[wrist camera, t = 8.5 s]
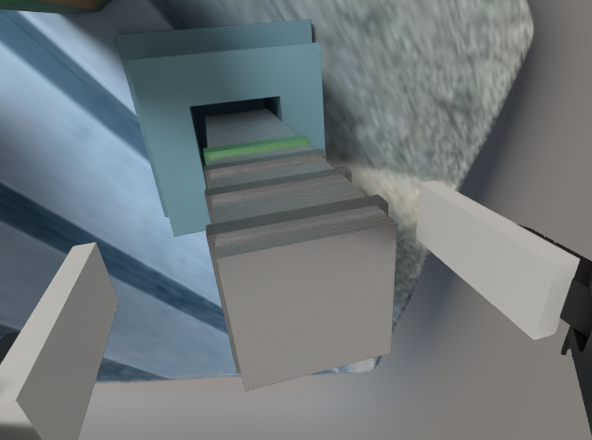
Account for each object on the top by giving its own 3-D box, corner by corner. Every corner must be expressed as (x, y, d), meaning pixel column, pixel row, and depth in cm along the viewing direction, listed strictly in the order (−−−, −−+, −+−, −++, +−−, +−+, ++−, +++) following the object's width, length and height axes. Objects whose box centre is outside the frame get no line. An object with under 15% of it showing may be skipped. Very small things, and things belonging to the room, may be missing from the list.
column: (214, 178, 31) (239, 397, 11) (202, 113, 28) (206, 253, 9) (275, 168, 32) (395, 355, 12) (269, 105, 29) (404, 216, 10)
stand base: (165, 214, 40) (137, 350, 22) (116, 35, 32) (8, 17, 14) (318, 188, 43) (403, 288, 25) (308, 19, 35) (424, -12, 17)
